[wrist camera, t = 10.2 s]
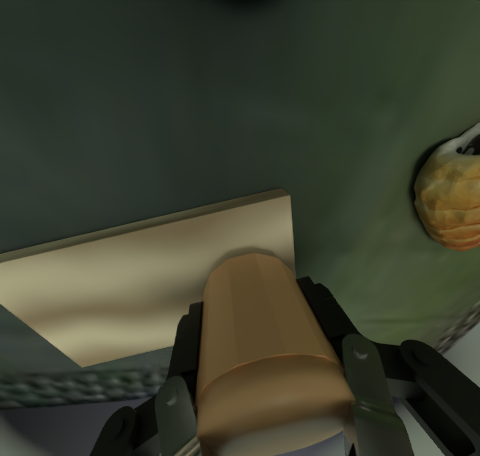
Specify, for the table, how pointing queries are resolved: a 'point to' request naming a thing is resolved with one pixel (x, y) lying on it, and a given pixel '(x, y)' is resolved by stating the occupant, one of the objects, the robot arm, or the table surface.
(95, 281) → the board
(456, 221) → the pastry
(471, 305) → the table surface
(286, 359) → the cap
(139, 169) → the table surface
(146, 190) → the table surface
